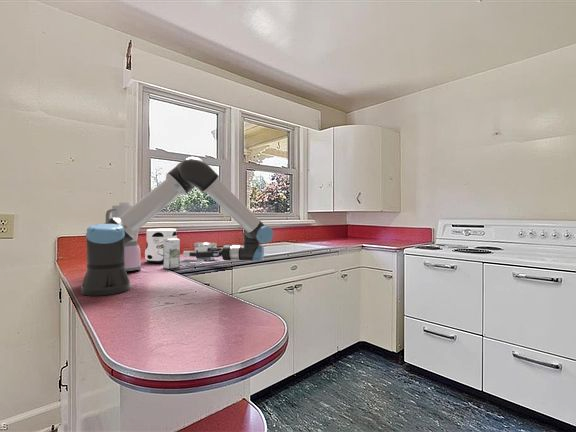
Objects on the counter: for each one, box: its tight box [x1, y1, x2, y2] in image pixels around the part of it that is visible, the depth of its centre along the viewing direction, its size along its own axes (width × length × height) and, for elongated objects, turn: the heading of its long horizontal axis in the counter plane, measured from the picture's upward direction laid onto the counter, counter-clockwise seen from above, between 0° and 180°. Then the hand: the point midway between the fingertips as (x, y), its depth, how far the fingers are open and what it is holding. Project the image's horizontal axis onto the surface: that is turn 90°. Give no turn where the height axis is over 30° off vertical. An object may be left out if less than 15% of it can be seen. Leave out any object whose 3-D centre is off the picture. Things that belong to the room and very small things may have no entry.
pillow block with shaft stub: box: [193, 242, 218, 261], centre depth 182 cm, size 6×12×10 cm, turn 84°
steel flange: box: [180, 259, 205, 267], centre depth 168 cm, size 12×12×2 cm
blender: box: [105, 202, 142, 272], centre depth 147 cm, size 16×12×32 cm
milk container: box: [144, 228, 178, 264], centre depth 176 cm, size 17×17×18 cm
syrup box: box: [162, 237, 181, 270], centre depth 158 cm, size 6×6×14 cm
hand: (189, 252), depth 157 cm, fingers open, 13 cm apart
